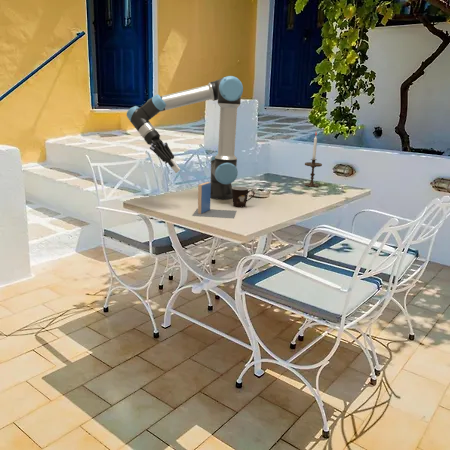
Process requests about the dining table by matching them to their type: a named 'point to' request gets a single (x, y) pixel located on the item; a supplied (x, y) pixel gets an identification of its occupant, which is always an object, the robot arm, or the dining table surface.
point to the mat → (216, 213)
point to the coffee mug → (240, 196)
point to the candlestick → (313, 165)
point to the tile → (204, 197)
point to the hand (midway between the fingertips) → (178, 171)
